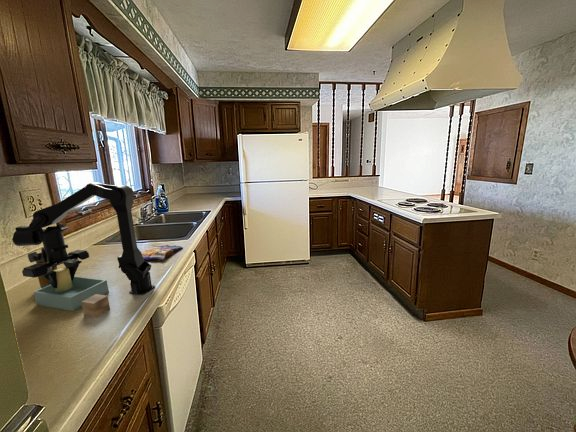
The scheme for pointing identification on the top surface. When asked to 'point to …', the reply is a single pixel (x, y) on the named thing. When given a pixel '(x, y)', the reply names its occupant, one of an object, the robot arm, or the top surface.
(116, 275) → the top surface
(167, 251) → the food package
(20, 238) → the robot arm
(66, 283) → the yellow teardrop shape
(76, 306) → the tote
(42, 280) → the condiment
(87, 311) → the walnut cube
